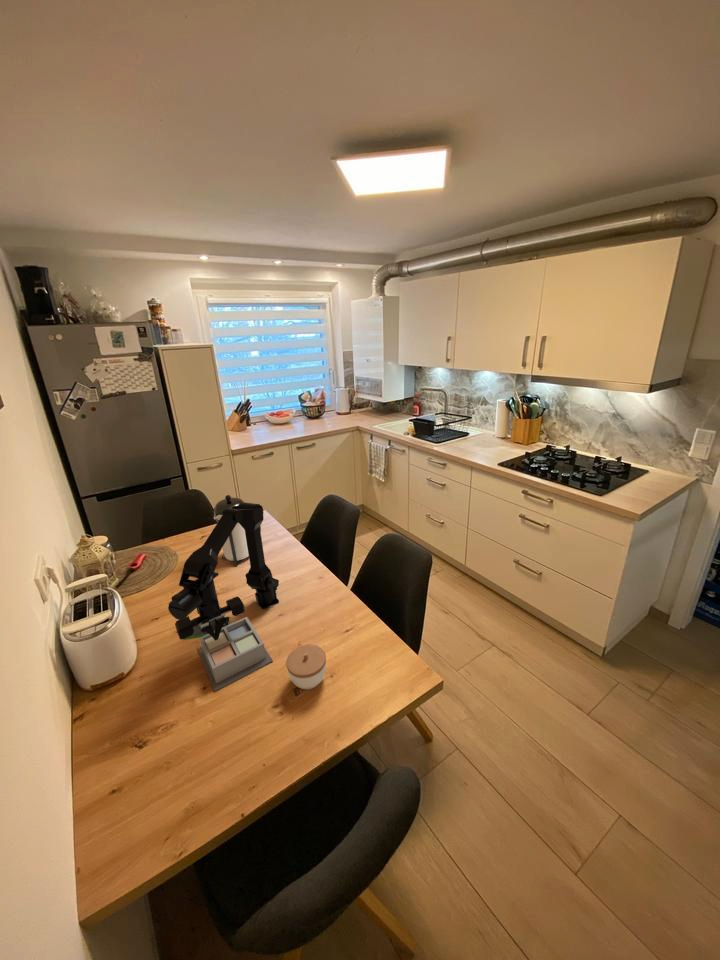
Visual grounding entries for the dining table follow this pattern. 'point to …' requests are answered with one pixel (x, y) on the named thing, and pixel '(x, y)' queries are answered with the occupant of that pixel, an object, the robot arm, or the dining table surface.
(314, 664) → the lidded jar
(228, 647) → the key terracotta
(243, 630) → the key slate
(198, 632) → the smartphone
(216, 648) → the keypad base
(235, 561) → the coffee press
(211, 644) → the key cream
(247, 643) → the key sage
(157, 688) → the dining table surface
